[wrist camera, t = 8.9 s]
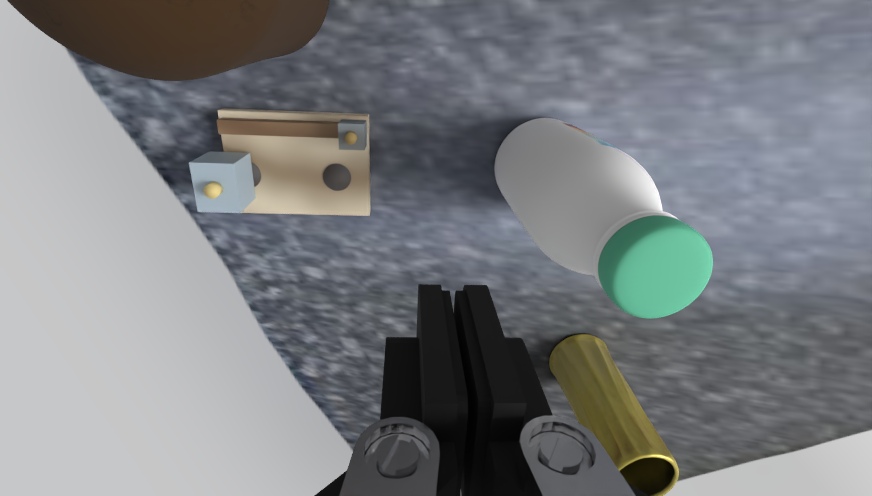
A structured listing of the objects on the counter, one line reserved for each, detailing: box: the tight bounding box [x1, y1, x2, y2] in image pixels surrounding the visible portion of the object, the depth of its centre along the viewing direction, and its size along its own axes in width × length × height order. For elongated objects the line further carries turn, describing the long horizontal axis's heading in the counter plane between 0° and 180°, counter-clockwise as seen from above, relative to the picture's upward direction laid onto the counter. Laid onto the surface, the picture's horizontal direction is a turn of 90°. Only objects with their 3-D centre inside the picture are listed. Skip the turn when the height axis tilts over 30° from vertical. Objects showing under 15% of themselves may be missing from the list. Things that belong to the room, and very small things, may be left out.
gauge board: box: [217, 108, 371, 216], centre depth 34 cm, size 8×11×5 cm
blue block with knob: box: [189, 151, 256, 213], centre depth 33 cm, size 4×3×4 cm
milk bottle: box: [494, 118, 713, 318], centre depth 28 cm, size 8×8×20 cm
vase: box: [549, 334, 679, 496], centre depth 39 cm, size 6×6×14 cm
